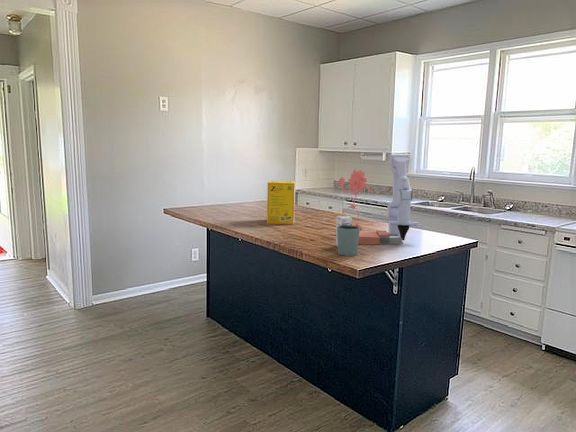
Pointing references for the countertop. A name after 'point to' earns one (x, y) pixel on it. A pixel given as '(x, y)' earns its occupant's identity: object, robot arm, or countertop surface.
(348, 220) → the syrup box
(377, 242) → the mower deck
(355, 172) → the pink flower bunch
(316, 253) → the countertop surface
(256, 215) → the countertop surface
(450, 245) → the countertop surface
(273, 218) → the packaging box
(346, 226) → the green tapered cup
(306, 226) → the countertop surface
